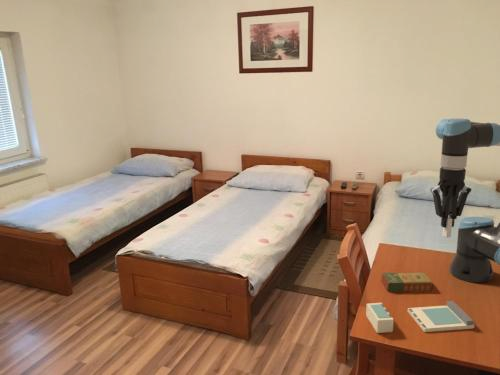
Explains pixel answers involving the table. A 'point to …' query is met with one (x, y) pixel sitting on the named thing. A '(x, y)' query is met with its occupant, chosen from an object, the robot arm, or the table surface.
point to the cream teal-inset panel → (441, 317)
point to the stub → (379, 317)
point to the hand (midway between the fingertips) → (446, 235)
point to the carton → (406, 281)
